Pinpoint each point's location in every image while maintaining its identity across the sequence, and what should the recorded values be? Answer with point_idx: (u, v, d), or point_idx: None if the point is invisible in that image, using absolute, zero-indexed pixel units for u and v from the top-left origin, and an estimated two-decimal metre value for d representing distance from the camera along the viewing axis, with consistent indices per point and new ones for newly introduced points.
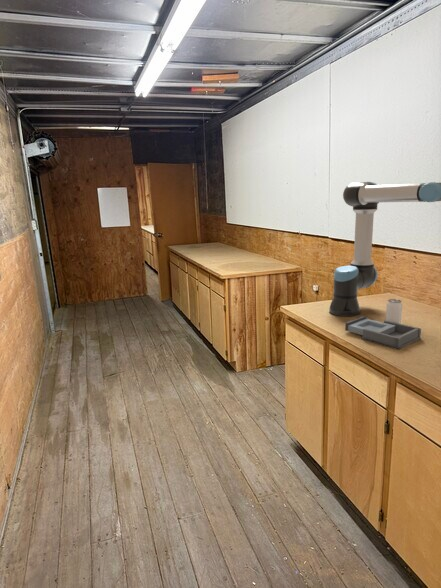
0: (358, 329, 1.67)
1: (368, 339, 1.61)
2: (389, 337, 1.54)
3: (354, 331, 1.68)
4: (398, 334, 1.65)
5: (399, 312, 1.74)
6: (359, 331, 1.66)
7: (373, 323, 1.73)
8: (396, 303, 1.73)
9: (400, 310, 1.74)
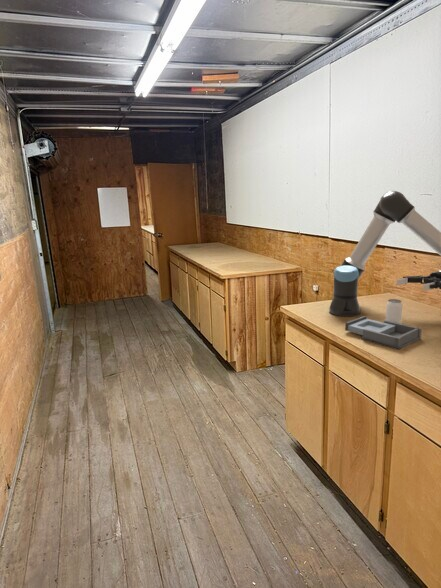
0: (358, 329, 1.67)
1: (368, 339, 1.61)
2: (389, 337, 1.54)
3: (354, 331, 1.68)
4: (398, 334, 1.65)
5: (399, 312, 1.74)
6: (359, 331, 1.66)
7: (373, 323, 1.73)
8: (396, 303, 1.73)
9: (400, 310, 1.74)
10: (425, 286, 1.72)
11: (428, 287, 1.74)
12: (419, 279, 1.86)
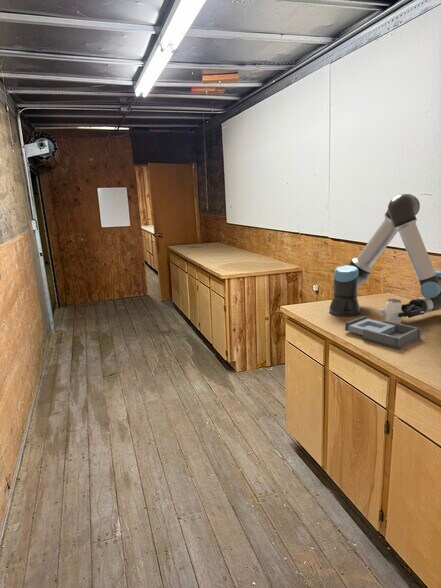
0: (358, 329, 1.67)
1: (368, 339, 1.61)
2: (389, 337, 1.54)
3: (354, 331, 1.68)
4: (398, 334, 1.65)
5: None
6: (359, 331, 1.66)
7: (373, 323, 1.73)
8: (395, 303, 1.73)
9: (399, 310, 1.74)
10: (393, 315, 1.72)
11: (397, 316, 1.73)
12: None
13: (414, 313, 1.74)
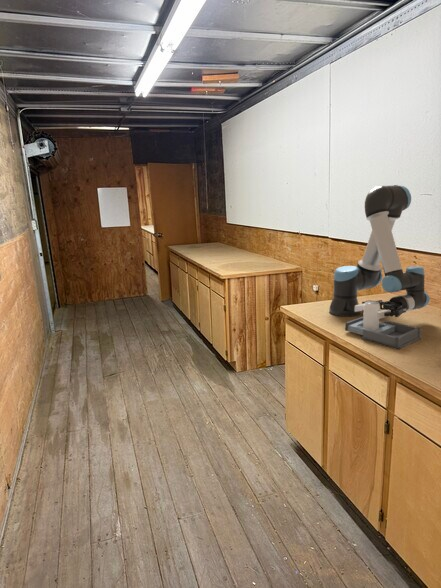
0: (358, 329, 1.67)
1: (368, 339, 1.61)
2: (389, 337, 1.54)
3: (354, 331, 1.68)
4: (398, 334, 1.65)
5: (376, 314, 1.65)
6: (359, 331, 1.66)
7: None
8: (373, 304, 1.64)
9: None
10: (379, 314, 1.60)
11: (383, 315, 1.61)
12: None
13: (400, 312, 1.63)
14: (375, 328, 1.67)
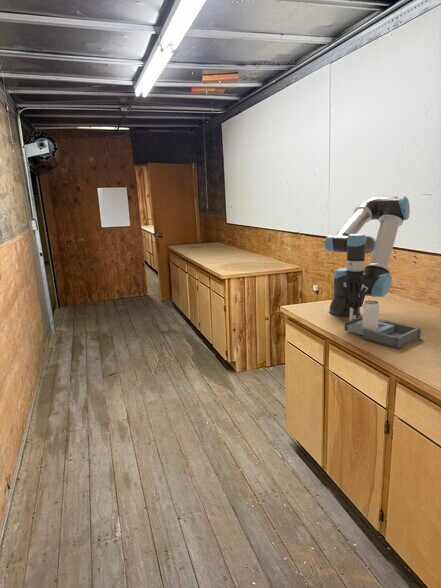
0: (357, 329, 1.67)
1: (368, 339, 1.61)
2: (389, 337, 1.54)
3: (353, 331, 1.69)
4: (398, 334, 1.65)
5: (376, 314, 1.65)
6: (358, 331, 1.67)
7: None
8: (372, 304, 1.65)
9: (377, 312, 1.65)
10: None
11: None
12: None
13: None
14: (374, 328, 1.67)
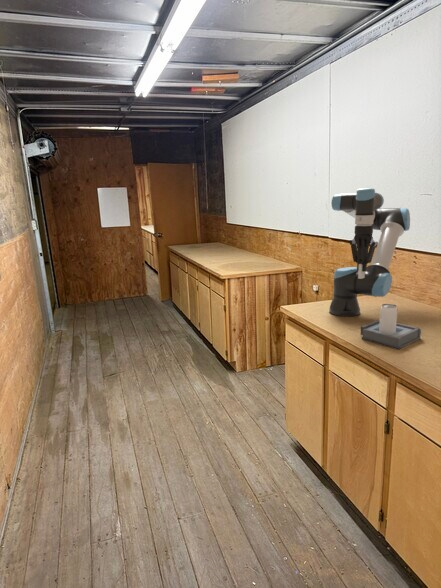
0: None
1: (368, 339, 1.61)
2: (389, 337, 1.54)
3: None
4: None
5: (394, 318, 1.59)
6: None
7: None
8: (390, 308, 1.58)
9: (395, 316, 1.59)
10: None
11: None
12: None
13: None
14: (392, 333, 1.61)
